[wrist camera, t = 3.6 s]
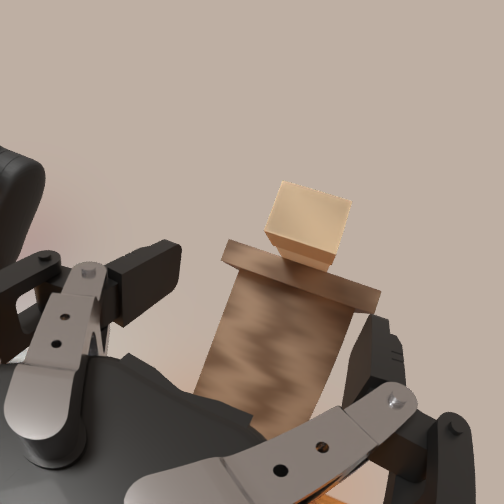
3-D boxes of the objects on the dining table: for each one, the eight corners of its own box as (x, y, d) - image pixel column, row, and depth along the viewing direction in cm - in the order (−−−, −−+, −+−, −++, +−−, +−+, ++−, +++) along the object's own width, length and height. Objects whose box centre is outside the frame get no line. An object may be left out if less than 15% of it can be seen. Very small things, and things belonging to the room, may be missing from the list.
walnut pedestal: (137, 499, 23) (228, 239, 27) (177, 461, 35) (254, 260, 38) (248, 549, 20) (381, 291, 23) (265, 499, 31) (359, 297, 35)
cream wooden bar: (263, 230, 17) (282, 180, 17) (291, 276, 40) (299, 254, 40) (336, 254, 16) (352, 201, 16) (321, 286, 39) (329, 264, 39)
